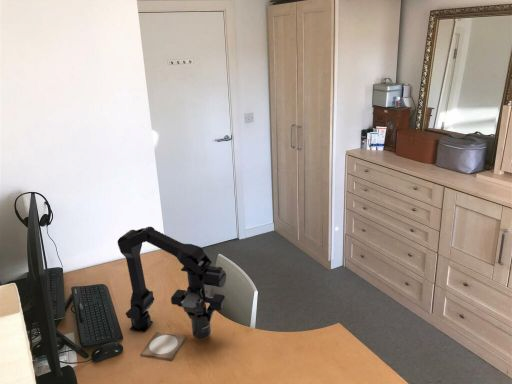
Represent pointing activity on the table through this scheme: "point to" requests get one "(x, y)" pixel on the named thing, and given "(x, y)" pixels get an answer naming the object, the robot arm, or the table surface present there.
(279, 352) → the table surface
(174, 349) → the walnut board
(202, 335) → the supplement bottle
